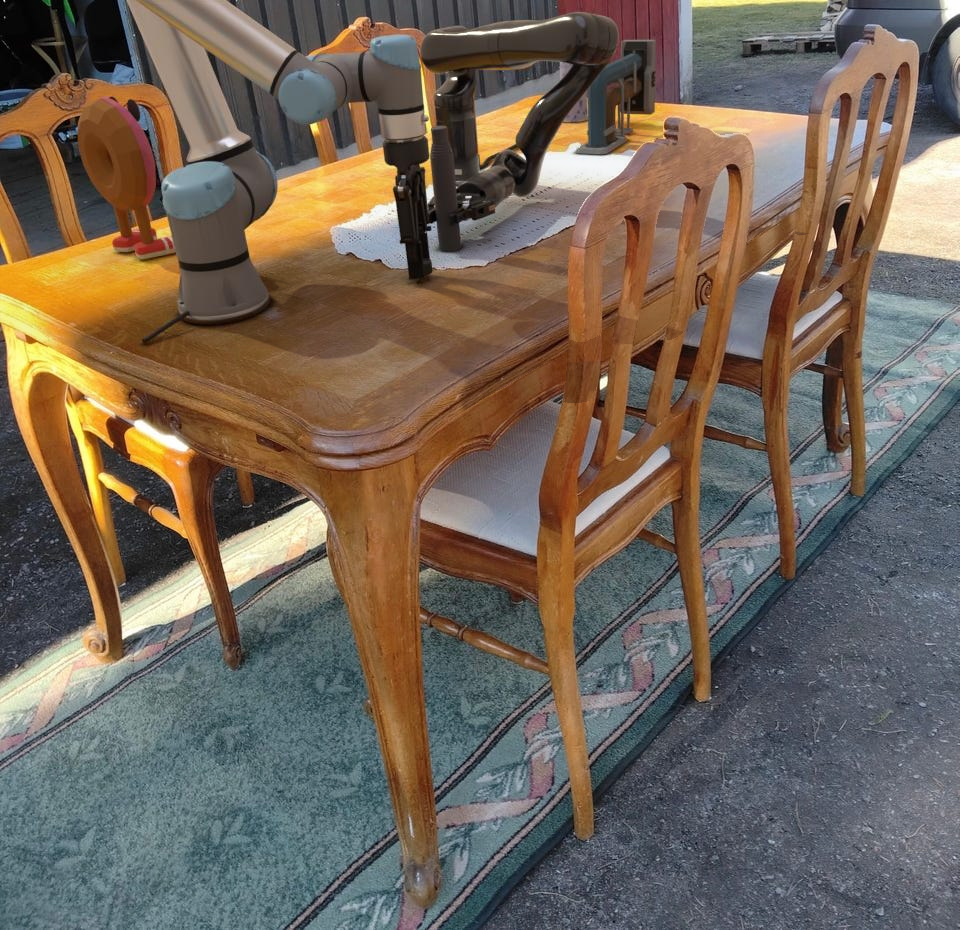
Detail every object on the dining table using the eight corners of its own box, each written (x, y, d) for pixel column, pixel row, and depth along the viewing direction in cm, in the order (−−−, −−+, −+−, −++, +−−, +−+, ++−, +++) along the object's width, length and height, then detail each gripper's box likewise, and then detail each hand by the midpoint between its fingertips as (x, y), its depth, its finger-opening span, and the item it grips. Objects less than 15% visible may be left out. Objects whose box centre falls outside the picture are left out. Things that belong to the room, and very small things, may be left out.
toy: (197, 251, 195) (161, 95, 180) (152, 266, 189) (111, 105, 174) (143, 235, 208) (105, 88, 193) (99, 248, 202) (57, 97, 187)
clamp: (605, 154, 239) (605, 62, 228) (573, 153, 243) (571, 62, 232) (654, 123, 265) (655, 39, 254) (624, 122, 269) (624, 39, 258)
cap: (428, 277, 169) (427, 265, 168) (405, 276, 170) (404, 265, 169) (435, 268, 172) (434, 257, 171) (412, 268, 173) (411, 257, 172)
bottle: (434, 249, 185) (422, 129, 174) (448, 243, 188) (437, 124, 177) (452, 252, 183) (440, 130, 172) (465, 246, 186) (455, 125, 175)
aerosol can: (559, 122, 275) (557, 47, 265) (562, 117, 282) (559, 42, 272) (587, 121, 274) (585, 45, 263) (589, 115, 280) (587, 41, 270)
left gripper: (415, 149, 151) (430, 290, 163) (437, 125, 166) (450, 256, 178) (369, 151, 153) (387, 291, 165) (395, 127, 167) (410, 257, 179)
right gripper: (447, 173, 194) (405, 197, 181) (512, 176, 188) (472, 201, 175) (450, 210, 198) (409, 236, 185) (514, 215, 192) (475, 241, 179)
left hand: (420, 273), depth 171 cm, fingers closed on cap, 4 cm apart
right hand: (440, 219), depth 180 cm, fingers closed on bottle, 4 cm apart
